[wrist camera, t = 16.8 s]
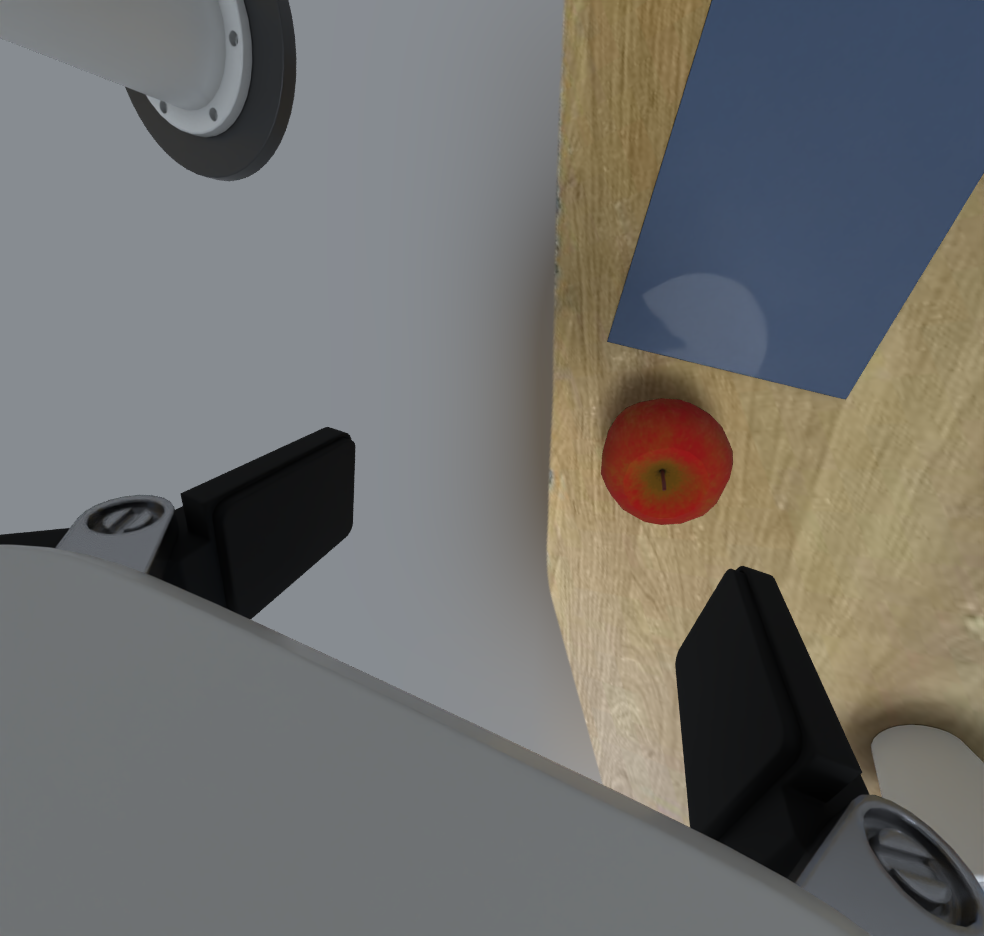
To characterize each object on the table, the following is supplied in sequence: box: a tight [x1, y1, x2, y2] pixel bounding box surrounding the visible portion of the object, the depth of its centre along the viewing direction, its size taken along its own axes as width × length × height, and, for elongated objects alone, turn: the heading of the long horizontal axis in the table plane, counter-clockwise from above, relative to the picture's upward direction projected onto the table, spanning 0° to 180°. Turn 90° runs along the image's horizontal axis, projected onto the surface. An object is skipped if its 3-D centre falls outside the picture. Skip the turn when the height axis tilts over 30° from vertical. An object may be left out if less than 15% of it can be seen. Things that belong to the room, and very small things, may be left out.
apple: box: [601, 398, 733, 525], centre depth 29 cm, size 9×8×11 cm
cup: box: [871, 725, 984, 891], centre depth 32 cm, size 12×12×12 cm
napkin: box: [607, 0, 984, 399], centre depth 26 cm, size 17×20×1 cm
